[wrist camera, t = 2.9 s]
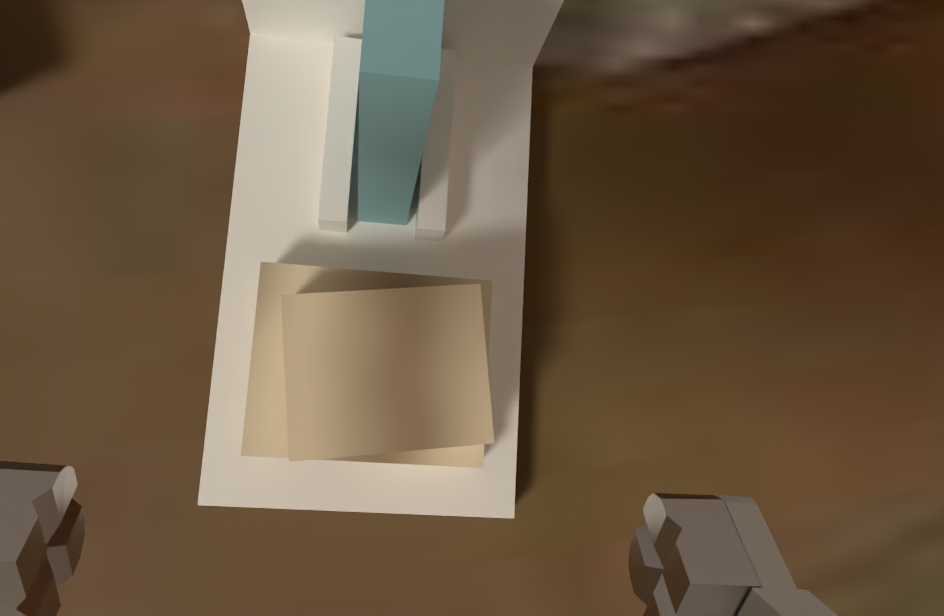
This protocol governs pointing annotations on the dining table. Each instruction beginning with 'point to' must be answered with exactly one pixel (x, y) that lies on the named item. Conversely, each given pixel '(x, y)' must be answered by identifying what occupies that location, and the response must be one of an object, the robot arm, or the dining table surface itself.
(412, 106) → the tall board
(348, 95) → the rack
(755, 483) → the dining table surface
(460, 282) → the plate
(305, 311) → the offcut top
